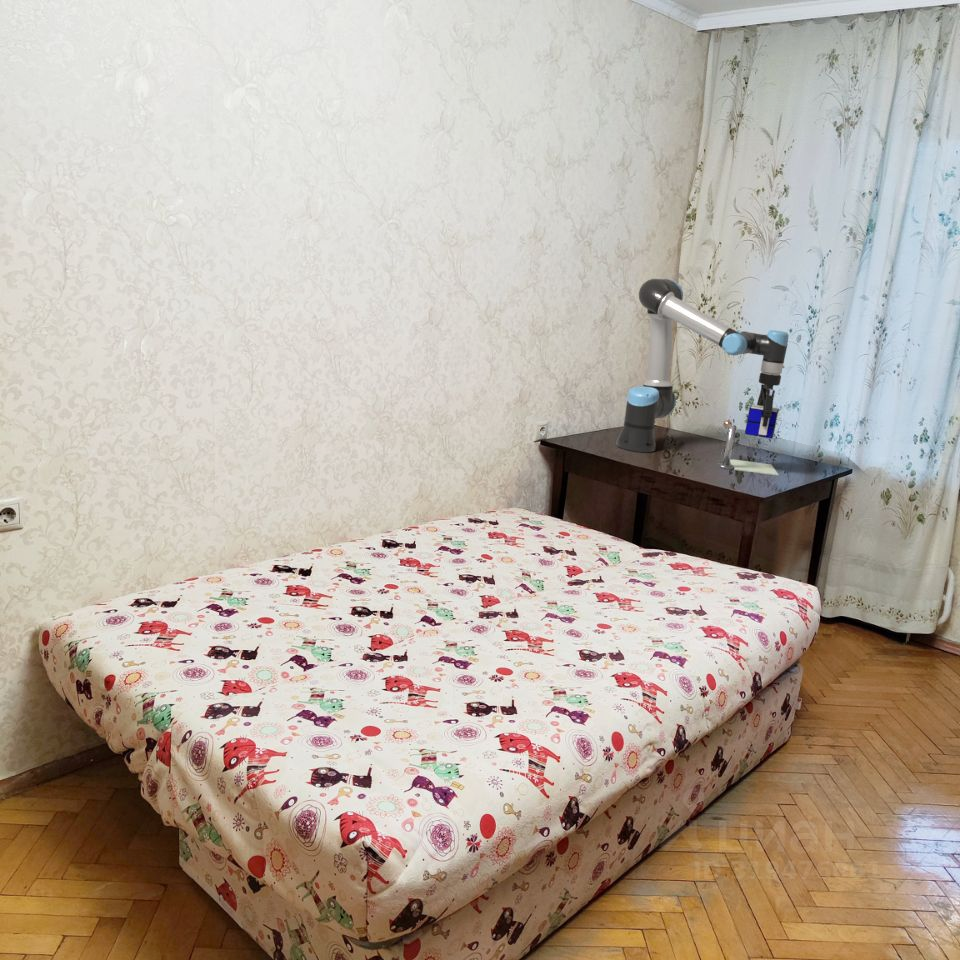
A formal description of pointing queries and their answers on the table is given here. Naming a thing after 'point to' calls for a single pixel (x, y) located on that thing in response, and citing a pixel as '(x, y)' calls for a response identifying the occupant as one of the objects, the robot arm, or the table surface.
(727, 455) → the hook post
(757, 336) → the robot arm
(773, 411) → the puzzle cube
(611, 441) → the table surface
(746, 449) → the table surface
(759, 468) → the sage mat
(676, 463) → the table surface
